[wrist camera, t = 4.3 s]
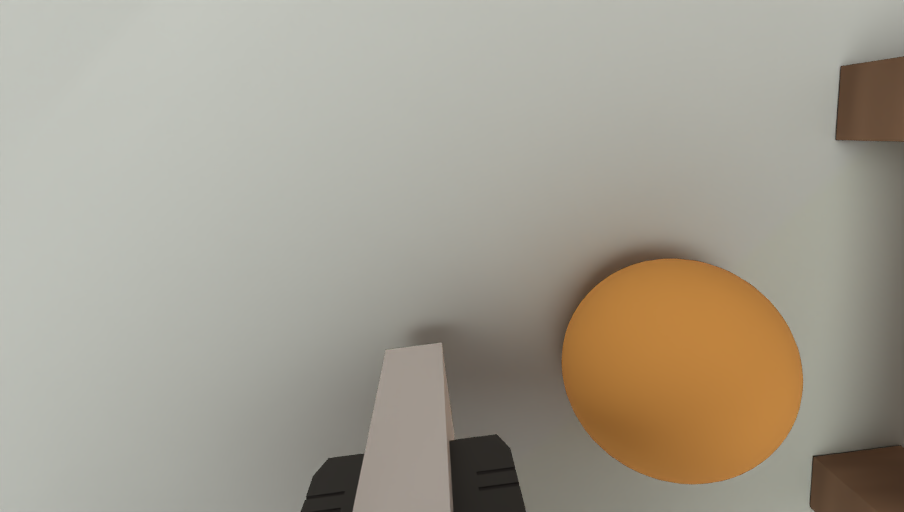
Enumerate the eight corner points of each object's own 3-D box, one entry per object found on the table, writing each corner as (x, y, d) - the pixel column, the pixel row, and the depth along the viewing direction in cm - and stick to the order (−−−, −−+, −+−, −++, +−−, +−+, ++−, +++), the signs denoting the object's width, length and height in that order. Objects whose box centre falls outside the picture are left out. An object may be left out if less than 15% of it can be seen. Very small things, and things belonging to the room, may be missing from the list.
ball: (620, 564, 11) (553, 420, 16) (867, 510, 11) (719, 385, 16) (589, 332, 9) (527, 258, 15) (872, 272, 10) (709, 221, 15)
